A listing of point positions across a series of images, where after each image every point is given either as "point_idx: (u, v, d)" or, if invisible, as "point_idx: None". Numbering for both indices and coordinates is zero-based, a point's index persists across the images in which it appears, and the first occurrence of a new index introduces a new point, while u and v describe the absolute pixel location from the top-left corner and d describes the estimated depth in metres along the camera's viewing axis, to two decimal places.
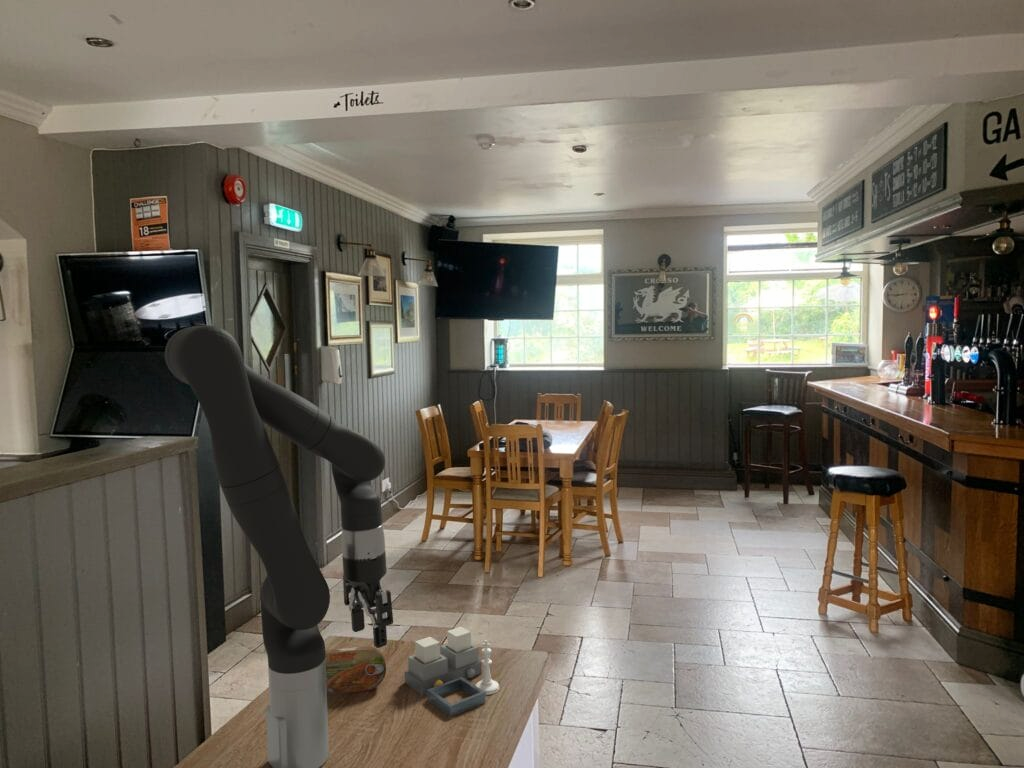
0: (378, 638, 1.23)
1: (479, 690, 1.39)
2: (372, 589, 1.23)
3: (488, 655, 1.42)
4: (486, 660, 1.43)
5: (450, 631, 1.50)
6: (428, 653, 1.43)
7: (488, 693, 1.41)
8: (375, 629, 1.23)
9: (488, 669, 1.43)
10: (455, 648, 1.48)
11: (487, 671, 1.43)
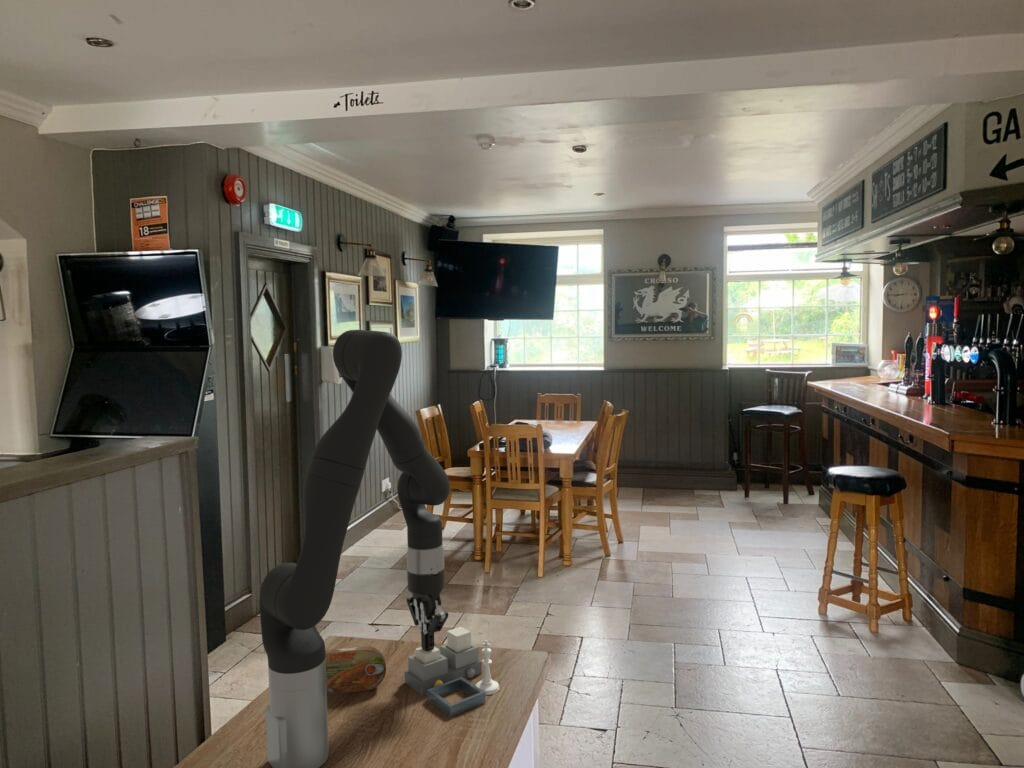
0: (427, 643, 1.44)
1: (479, 690, 1.39)
2: (434, 605, 1.41)
3: (488, 655, 1.42)
4: (486, 660, 1.43)
5: (450, 631, 1.50)
6: (428, 660, 1.44)
7: (488, 693, 1.41)
8: (425, 635, 1.44)
9: (488, 669, 1.43)
10: (455, 648, 1.48)
11: (487, 671, 1.43)
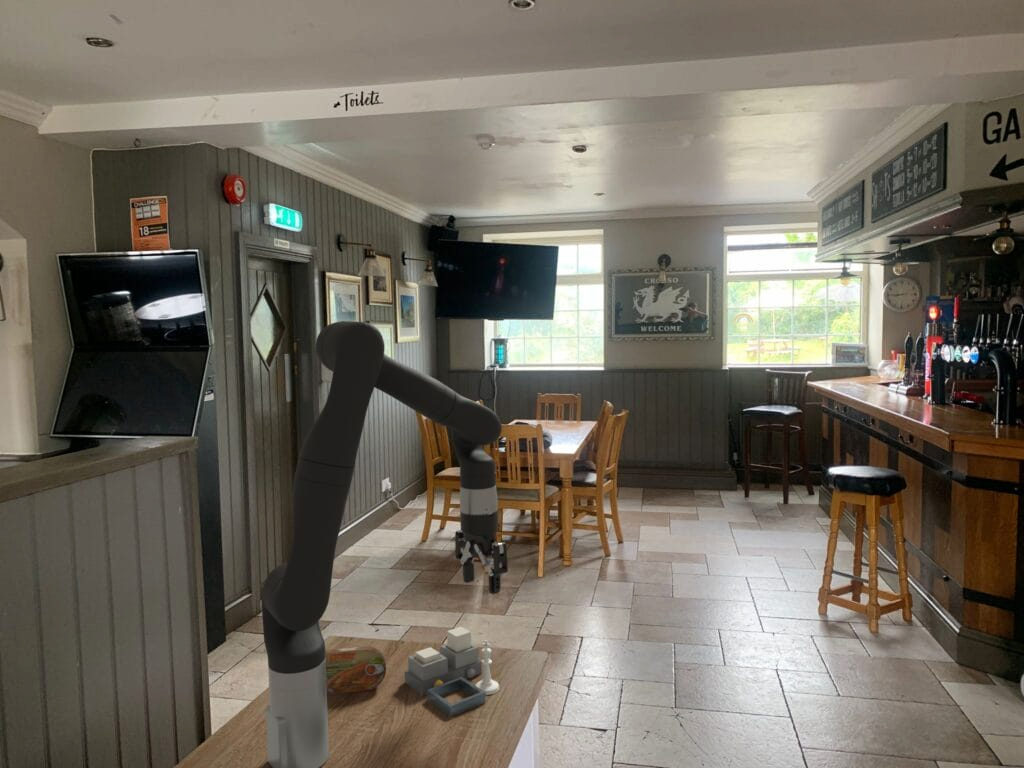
0: (493, 585, 1.38)
1: (479, 690, 1.39)
2: (489, 541, 1.38)
3: (488, 655, 1.42)
4: (486, 660, 1.43)
5: (450, 631, 1.50)
6: None
7: (488, 693, 1.41)
8: (491, 577, 1.38)
9: (488, 669, 1.43)
10: (455, 648, 1.48)
11: (487, 671, 1.43)
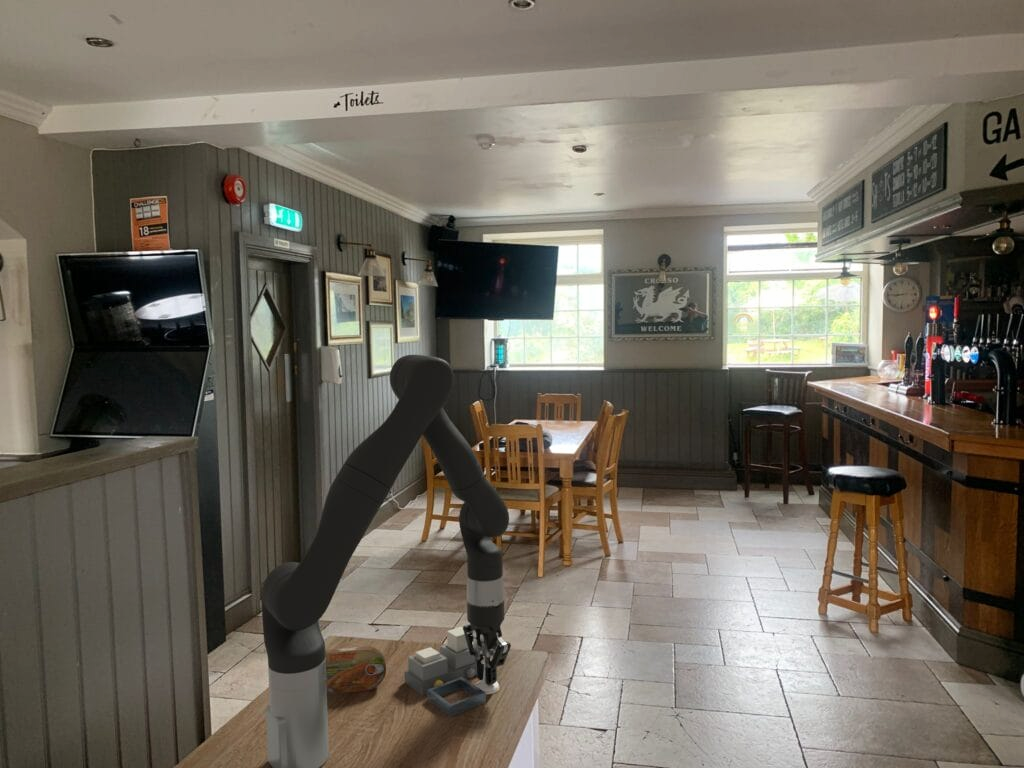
0: (490, 677, 1.41)
1: (479, 690, 1.39)
2: (495, 636, 1.39)
3: None
4: None
5: (450, 631, 1.50)
6: None
7: (488, 693, 1.41)
8: (487, 669, 1.41)
9: None
10: (455, 648, 1.48)
11: None
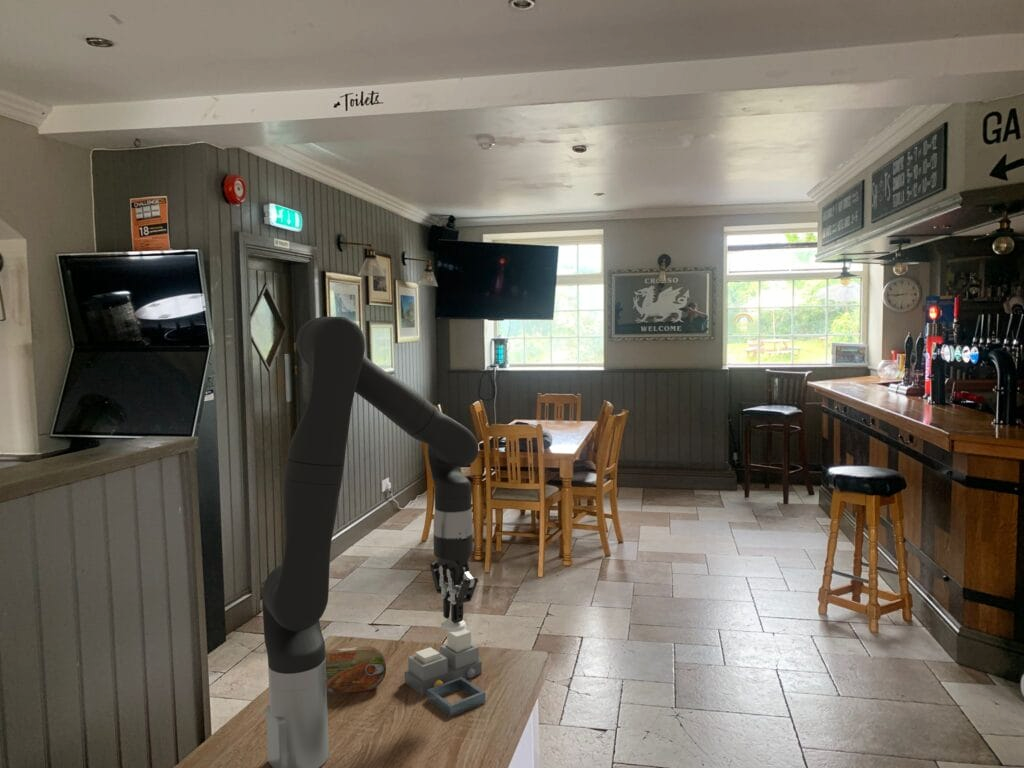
0: (456, 614, 1.35)
1: (479, 690, 1.39)
2: (462, 570, 1.33)
3: None
4: None
5: None
6: None
7: (454, 630, 1.35)
8: (453, 605, 1.35)
9: None
10: (455, 648, 1.48)
11: None
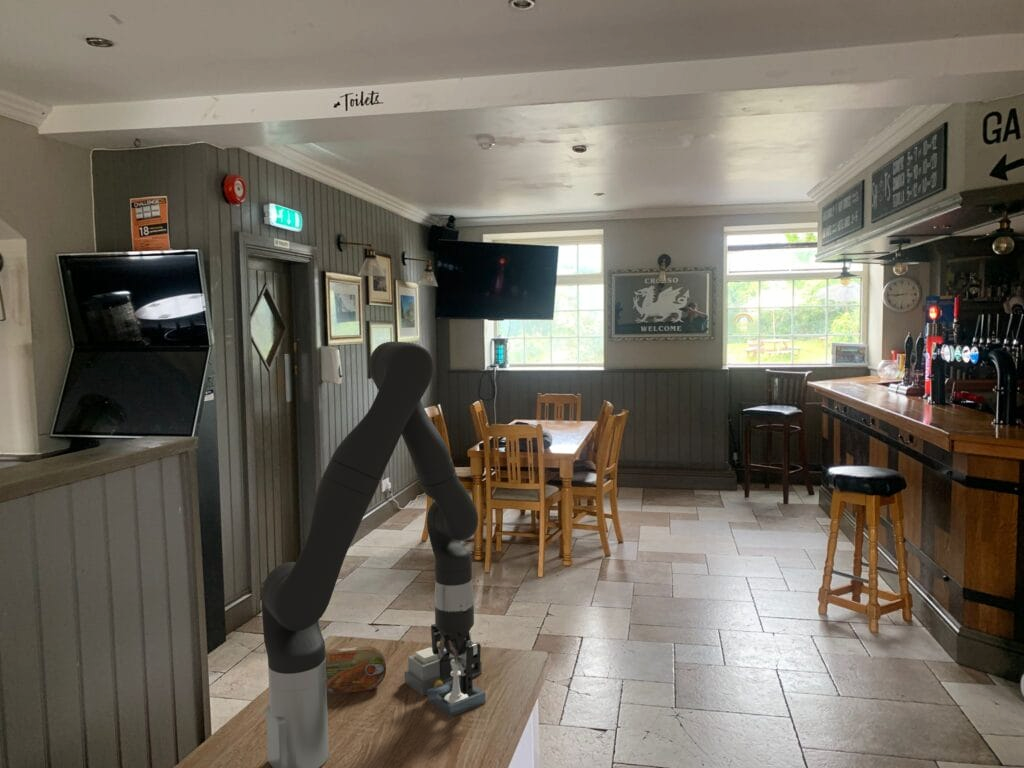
0: (465, 685, 1.35)
1: (479, 690, 1.39)
2: (463, 640, 1.34)
3: (457, 667, 1.38)
4: (455, 672, 1.38)
5: None
6: None
7: None
8: (463, 677, 1.35)
9: (457, 681, 1.38)
10: None
11: (456, 683, 1.38)
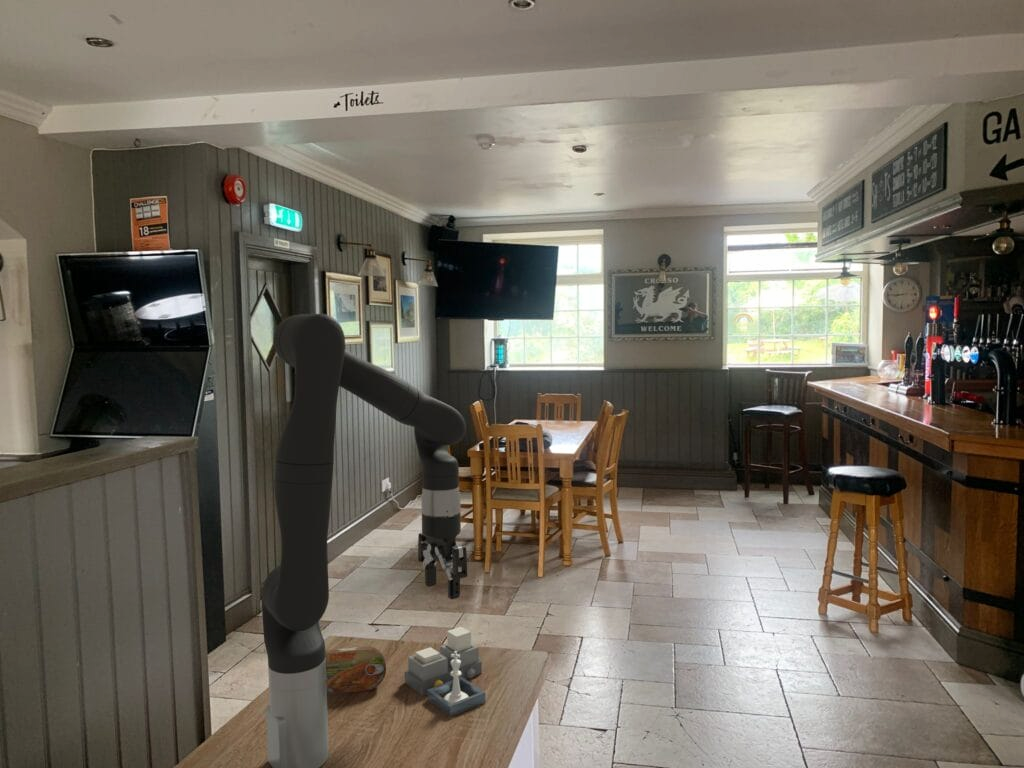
0: (452, 590, 1.34)
1: (479, 690, 1.39)
2: (449, 544, 1.35)
3: (457, 667, 1.38)
4: (455, 672, 1.38)
5: (450, 631, 1.50)
6: None
7: None
8: (450, 581, 1.34)
9: (457, 681, 1.38)
10: (455, 648, 1.48)
11: (456, 683, 1.38)
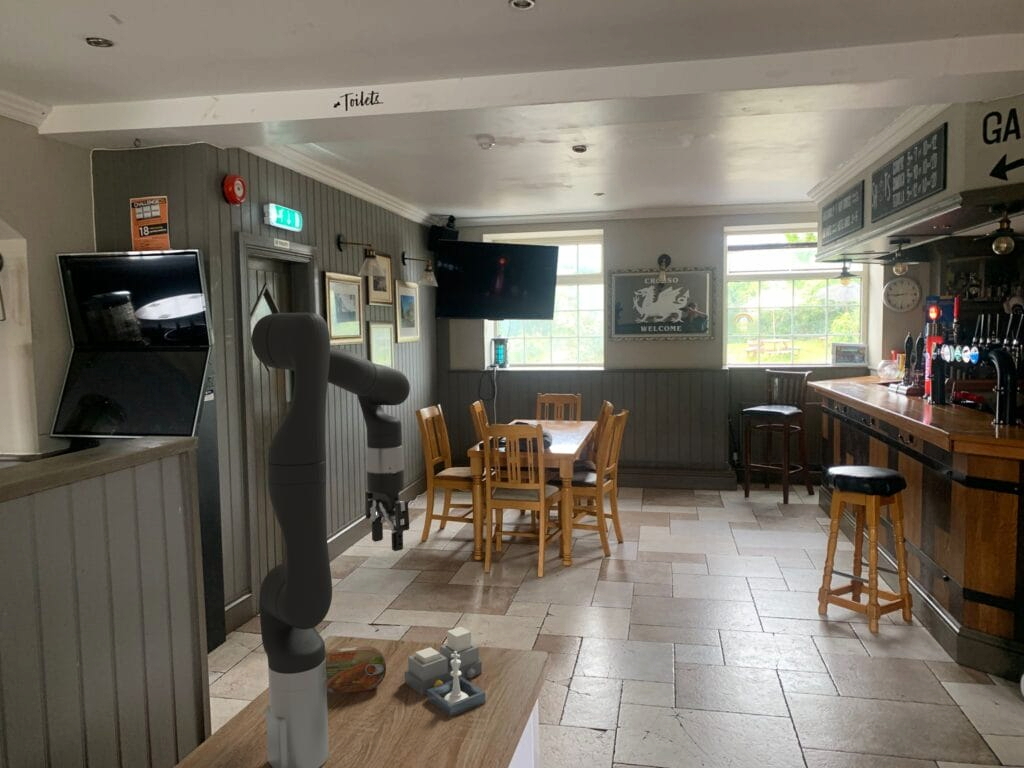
0: (396, 542, 1.43)
1: (479, 690, 1.39)
2: (392, 499, 1.43)
3: (457, 667, 1.38)
4: (455, 672, 1.38)
5: (450, 631, 1.50)
6: None
7: None
8: (393, 534, 1.43)
9: (457, 681, 1.38)
10: (455, 648, 1.48)
11: (456, 683, 1.38)
